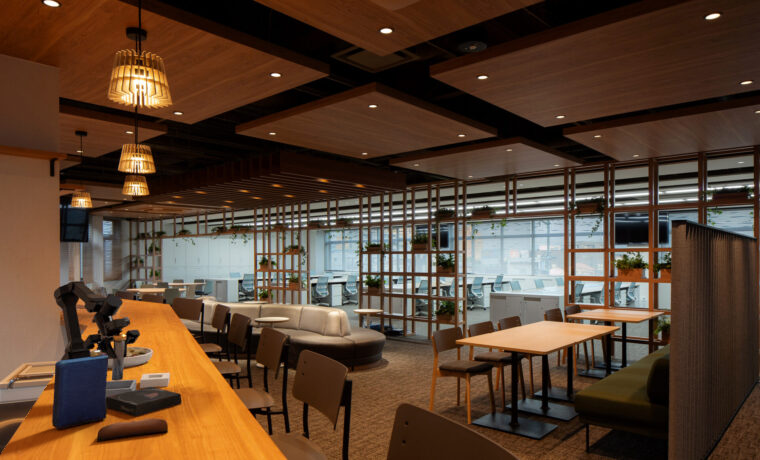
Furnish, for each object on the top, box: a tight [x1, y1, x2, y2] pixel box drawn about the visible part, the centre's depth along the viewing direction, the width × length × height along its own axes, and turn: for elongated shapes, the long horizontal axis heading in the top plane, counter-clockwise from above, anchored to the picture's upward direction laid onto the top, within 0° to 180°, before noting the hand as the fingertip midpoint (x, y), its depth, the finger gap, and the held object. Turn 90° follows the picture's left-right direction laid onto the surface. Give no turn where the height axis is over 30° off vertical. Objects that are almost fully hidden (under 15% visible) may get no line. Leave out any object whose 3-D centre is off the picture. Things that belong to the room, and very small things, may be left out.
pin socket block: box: [139, 372, 171, 389], centre depth 197 cm, size 10×10×3 cm
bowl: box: [90, 346, 154, 370], centre depth 233 cm, size 30×30×8 cm
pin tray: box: [105, 379, 137, 400], centre depth 180 cm, size 14×14×4 cm
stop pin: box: [111, 333, 126, 381], centre depth 182 cm, size 4×4×16 cm
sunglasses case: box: [96, 417, 169, 443], centre depth 142 cm, size 18×7×7 cm, turn 118°
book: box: [51, 354, 108, 430], centre depth 149 cm, size 14×5×20 cm, turn 141°
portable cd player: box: [106, 387, 183, 418], centre depth 168 cm, size 16×17×4 cm
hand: (120, 357), depth 181 cm, fingers closed on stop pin, 4 cm apart
